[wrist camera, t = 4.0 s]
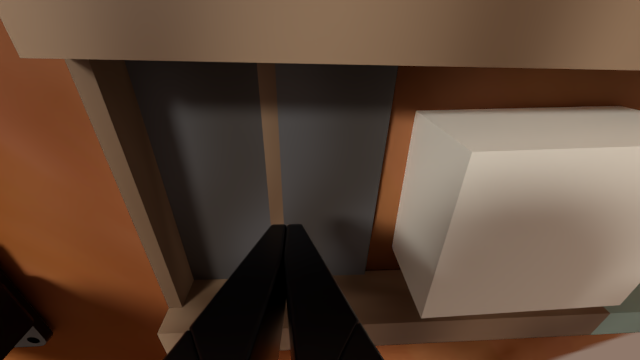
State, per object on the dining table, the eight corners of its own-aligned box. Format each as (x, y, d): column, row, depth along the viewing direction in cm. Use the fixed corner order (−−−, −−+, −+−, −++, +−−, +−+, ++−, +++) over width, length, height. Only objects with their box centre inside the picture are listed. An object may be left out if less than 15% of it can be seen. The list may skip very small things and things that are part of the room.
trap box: (191, 298, 12) (167, 356, 10) (81, -23, 6) (-32, -46, 4) (694, 279, 14) (766, 325, 12) (985, 13, 8) (1236, 9, 6)
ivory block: (389, 243, 12) (420, 318, 9) (413, 108, 9) (472, 151, 6) (540, 235, 12) (619, 305, 9) (612, 103, 9) (766, 142, 6)
